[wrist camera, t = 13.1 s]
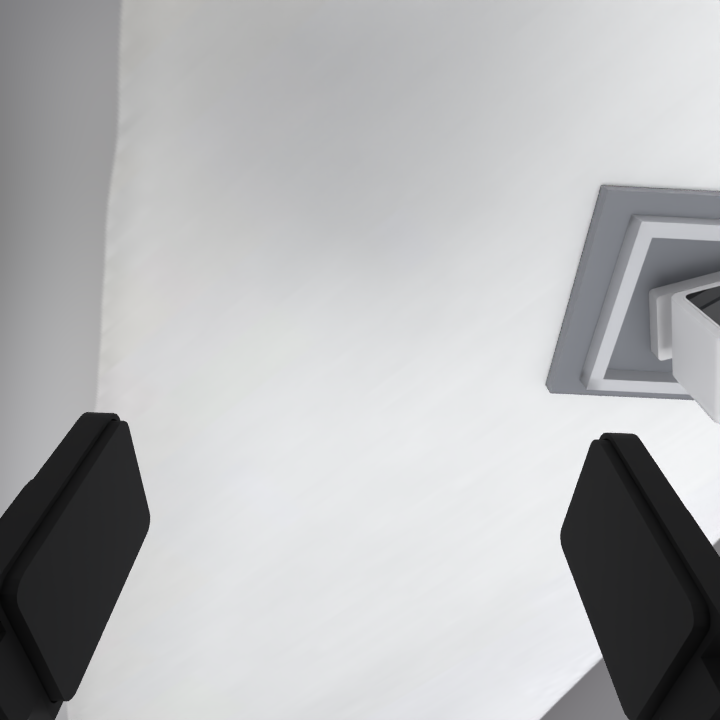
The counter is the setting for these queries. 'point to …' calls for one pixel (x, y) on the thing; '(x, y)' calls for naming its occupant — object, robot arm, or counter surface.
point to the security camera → (690, 336)
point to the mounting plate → (631, 289)
